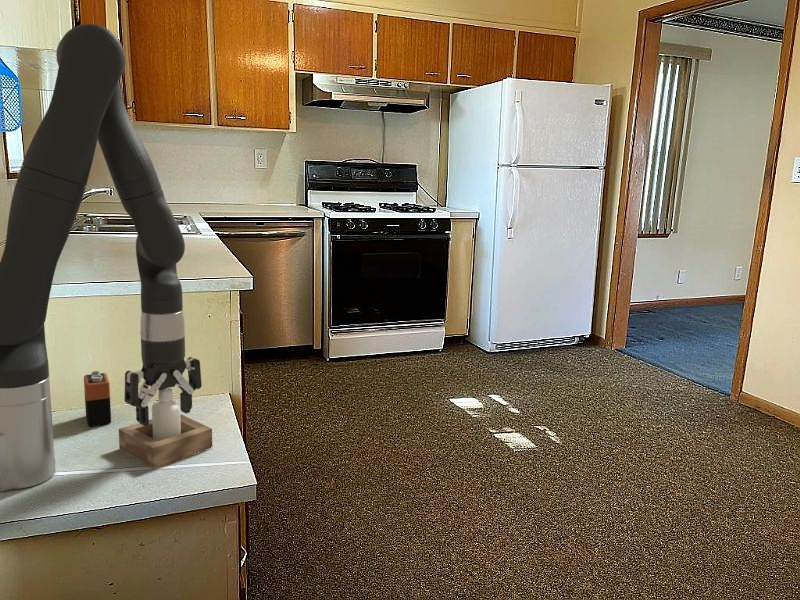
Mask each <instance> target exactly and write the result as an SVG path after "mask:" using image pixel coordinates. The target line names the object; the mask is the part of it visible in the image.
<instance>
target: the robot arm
mask: <svg viewBox="0 0 800 600" xmlns="http://www.w3.org/2000/svg"><path fill="white" fill-rule="evenodd" d="M55 55H56V62H57V65H58V69H57V73H56V74H57V75H56V78H55V84H54V88H53V93H52V97H51V100H50V102H49V105H48V108H47V110H46V112H45V115H44V117H42V120H41V122H40V124H39V126H38V128H37V129H36V131H35V133H34V135H33V137H32V140H31V141H30V144H29V145H28V148H27V150H26V153H25V155H24V158H23V160H22V162H21V167H20V169H19V172H18V176H17V179H16V181H15V186H14V189H13V192H12V197H11V202H10V206H9V213H8V220H7V229H6V238H5V244H4V249H3V253H2V257H1V260H0V492H5V491H9V490H18V489H25V488H29V487H34V486H37V485H40V484H42V483H44V482H46V481H47V480H50V479H51V478H52V477H53V476H54V475H55V473H56V457H55V455H56V454H55V443H54V431H53V430H54V429H53V428H54V427H53V415H52V414H53V413H52V398H51V383H50V382H51V381H50V368H49V358H48V352H47V343H46V330H45V323H46V319H47V313H48V307H49V303H50V302H49V301H50V295H51V291H52V285H53V281H54V276H55V272H56V268H57V265H58V262H59V259H60V257H61V254H62V252H63V250H64V247H65V245H66V243H67V241H68V238H69V236H70V234H71V231H72V228H73V225H74V223H75V220H76V217H77V215H78V213H79V210H80V208H81V207H80V206H81V204H82V201H83V197H84V195H85V191H86V188H87V184H88V180H89V177H90V172H91V168H92V165H93V162H94V157H95V152H96V149H97V144H99V147H100V150H101V152H102V155H103V157H104V160H105V163H106V166H107V169H108V171H109V174H110V176H111V179H112V182H113V185H114V188H115V190H116V192H117V195H118V197H119V200H120V202H121V205H122V207H123V209H124V210H125V212H126V213H127V215H128V216H129V217H130V218H131V221H132V223H133V225H134V226H133V227H135V230H136V233H137V237H136V240H135V256H136V262H137V269H138V274H139V279H140V309H141V311H140V313H141V315H140V323H139V324H140V329H139V330H140V332H139V334H140V353H141V354H140V355H141V361H142V362H141V363H142V368H141V369H140V370H137V371H131V370H126V371H125V373H124V403H125V404H128V405H130V406H132V407H135V414H136V415H135V416H136V417H135V418H136V421H137V423H140V424H141V425H143V426H146V425H149V420H150V419H149V417H150V415H149V406H148V404H149V402H150V401H151V399H152V397H155V395H156V394H157V392H158V391H159V390H163V389H165V388H167V387H168V388H174V387H176V386H177V388H178V389H180V391H181V392H180V393H179V396H180V398H179V399H180V405H179V408H180V412H182V413H184V414H189V413H191V410H192V408H193V393H194V391H196V390H199V389H201V388H202V384H203V383H202V374H201V373H202V371H201V370H202V369H201V361H200V359H197V358H195V357H192V356H189V357H188V358H187V359H186V360H185V357H186V338H185V337H186V336H185V335H186V334H185V332H186V329H185V317H184V310H183V309H184V308H183V307H184V306H183V303H184V302H183V289H182V288H183V287H182V284H181V283H182V282H181V281H180V279H179V277H178V274H177V273H178V272H177V264H178V263H179V262H180V261H181V260H182V258H183V257H184V254H185V251H186V248H185V247H186V245H185V240H184V236H183V232H182V231H181V228H180V226H179V225H178V223H177V220H176V218H175V216H174V214H173V212H172V210H171V208H170V207H169V205H168V203H167V201H166V198H165V194H164V191H163V189H162V186H161V182H160V180H159V177H158V174H157V171H156V169H155V167H154V163H153V162H152V159H151V157H150V154H149V152H148V151H147V149H146V147H145V145H144V144H143V142H142V140H141V138H140V137H139V134H138V133H137V130H136V128H135V126H134V124H133V122H132V121H131V118H130V116H129V113H128V111H127V108H126V105H125V102H124V99H123V95H122V90H121V85H120V81H121V77H122V76H123V75H124V71H125V67H126V56H125V51H124V48H123V45H122V43H121V42H120V40H119V38H118V37H117V36H116V35H115V34H114V33H113V32H112V31H111V30H110V29H108V28H107V27H105V26H103V25H100V24H97V23H85V24H80V25H77V26H74V27H72V28H71V29H69V30H68V31H67V32H66V33H65V34H64V35H63V37H62V38H61V39H60V40H59V43H58V45H57V48H56V54H55ZM185 370H187V374H188V375H187V376H188V381H187V379H186V378H185V376H183V374H184V373H185ZM142 379H143V382H142V381H141V380H142ZM141 382H142V383H141ZM140 383H141V385H140ZM139 385H140V387H139Z"/></svg>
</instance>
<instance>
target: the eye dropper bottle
mask: <svg viewBox="0 0 800 600" xmlns="http://www.w3.org/2000/svg"><path fill="white" fill-rule="evenodd" d="M157 392H158V401H157V400H156V401H154V403H152V405H151V415H152V416H151V417H152V427H153V439H154V440H156V441H160V440H163V439H167V438H170V437H173V436H176V435H179V434H181V422H180V414H181V407H180V405H178V404H177V402H175V401H173V389H172V387H167V388H165V389H163V390H158V391H157Z"/></svg>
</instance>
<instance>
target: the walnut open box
mask: <svg viewBox="0 0 800 600" xmlns="http://www.w3.org/2000/svg"><path fill="white" fill-rule="evenodd" d="M180 422H181V434H179V435H176V436H173V437H170V438H167V439H163V440H160V441H156V440H154V439H153V427H152V419H149V425H146V426H143V425H141V424H140V423H139V422H137V423H135V424H131V425H128V426H125V427H120V428H118V445H119V446H118V447H119V450H120V451H122V452H124V453H125V452H126V454H127V453H128V455H129V454H130V455H129V456H131V455H132V456H134V457H135V458H134V457H133V458H134V459H136V458H137V459H139V460H140V461H139V460H138V461H139V462H141V461H142V462H143V464H144V465H146V466H148V467H149V468H151V469H153V470H156V469H159V468H162V467H165V466H167V465H171V464H173V463H175V462H178V460H179V461H181V459H182V460H184V459H187V458H189V457H188V456H190V457H192V456H191V455H193V454H195V453H198V452H201V451H204V450H206V449H209V448H211V447H212V448H213V428H211V427H210V426H208V425H205V424H203V423H200V422H199V421H196V420H195V419H194V420H193V419H192V418H189V417H188V416H185V415H184V414H181V413H180ZM209 450H210V449H209ZM206 451H207V450H206ZM204 452H205V451H204ZM201 453H202V452H201ZM198 454H199V453H198ZM195 455H196V454H195ZM132 456H131V457H132ZM193 456H194V455H193ZM186 457H187V458H186ZM183 458H184V459H183ZM137 459H136V460H137ZM142 462H141V463H142Z"/></svg>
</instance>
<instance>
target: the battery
mask: <svg viewBox="0 0 800 600" xmlns="http://www.w3.org/2000/svg"><path fill="white" fill-rule="evenodd" d="M110 386H111V384H110V381H109V378H108V375H107V373H105V372H103V373H102V372H100V371H98V370H93V371H91V374H85V375H84V376H83V387H84V406H85V416H86V424H87V426H88V427H95V426H102V425H103V426H104V425H110V424H111V423H112V410H111V406H112V405H111V387H110Z"/></svg>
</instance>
